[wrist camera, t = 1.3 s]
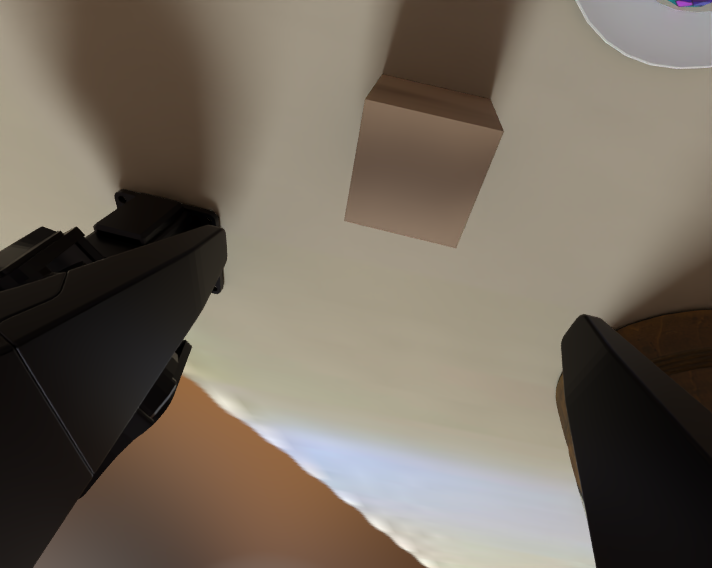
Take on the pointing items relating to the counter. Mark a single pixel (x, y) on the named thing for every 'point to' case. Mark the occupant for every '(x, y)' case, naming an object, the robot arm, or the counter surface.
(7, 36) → the counter surface
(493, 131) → the walnut block
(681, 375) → the wooden container
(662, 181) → the counter surface
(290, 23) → the counter surface
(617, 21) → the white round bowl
